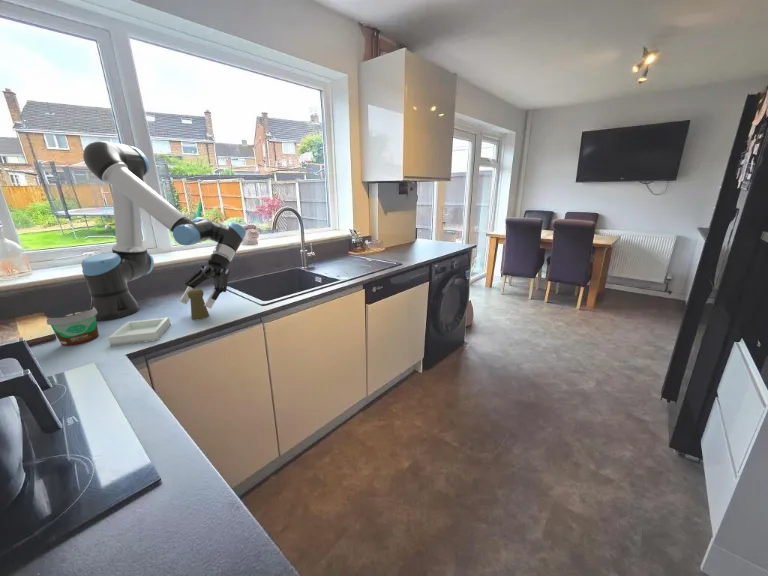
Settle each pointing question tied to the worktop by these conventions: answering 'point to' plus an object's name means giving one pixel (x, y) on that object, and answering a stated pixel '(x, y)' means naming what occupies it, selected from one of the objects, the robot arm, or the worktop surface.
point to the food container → (75, 327)
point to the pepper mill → (197, 304)
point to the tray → (139, 331)
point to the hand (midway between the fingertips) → (194, 304)
